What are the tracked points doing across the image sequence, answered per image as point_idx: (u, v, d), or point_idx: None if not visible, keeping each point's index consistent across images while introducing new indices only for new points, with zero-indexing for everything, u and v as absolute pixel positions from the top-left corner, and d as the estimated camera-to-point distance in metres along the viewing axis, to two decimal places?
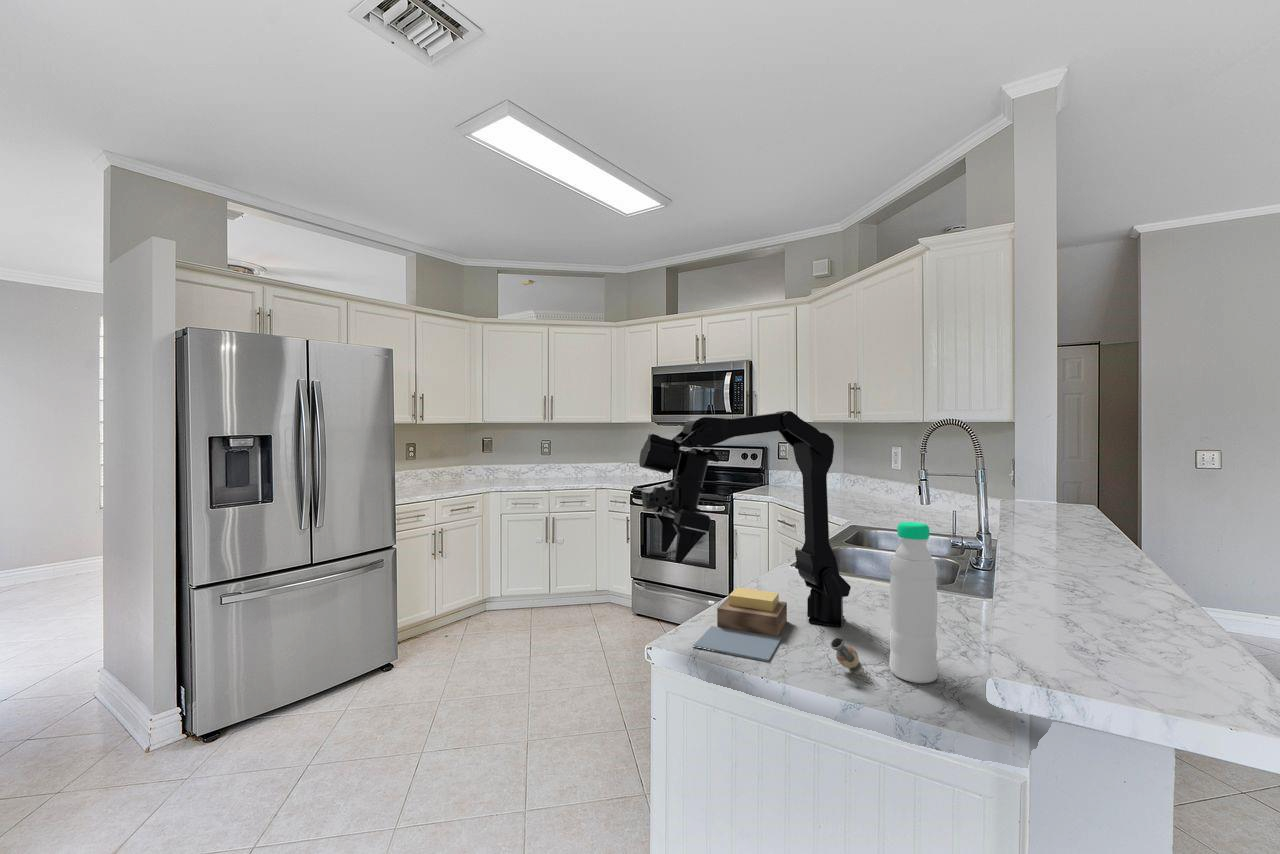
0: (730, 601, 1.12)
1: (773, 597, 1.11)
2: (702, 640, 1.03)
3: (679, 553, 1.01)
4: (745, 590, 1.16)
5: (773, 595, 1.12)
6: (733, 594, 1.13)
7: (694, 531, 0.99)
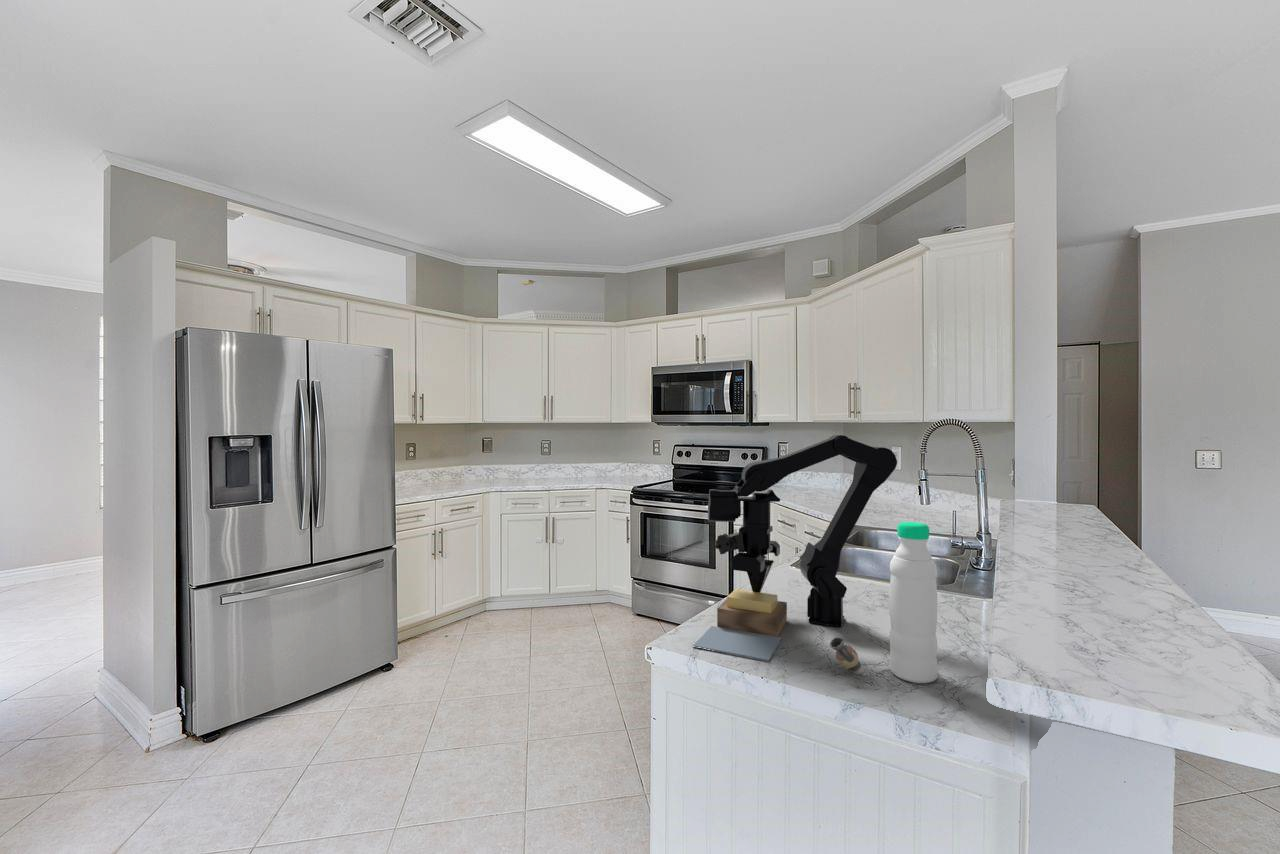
0: (728, 603, 1.11)
1: (772, 599, 1.10)
2: (702, 640, 1.03)
3: (753, 587, 1.15)
4: (744, 592, 1.14)
5: (772, 597, 1.11)
6: (732, 596, 1.11)
7: None
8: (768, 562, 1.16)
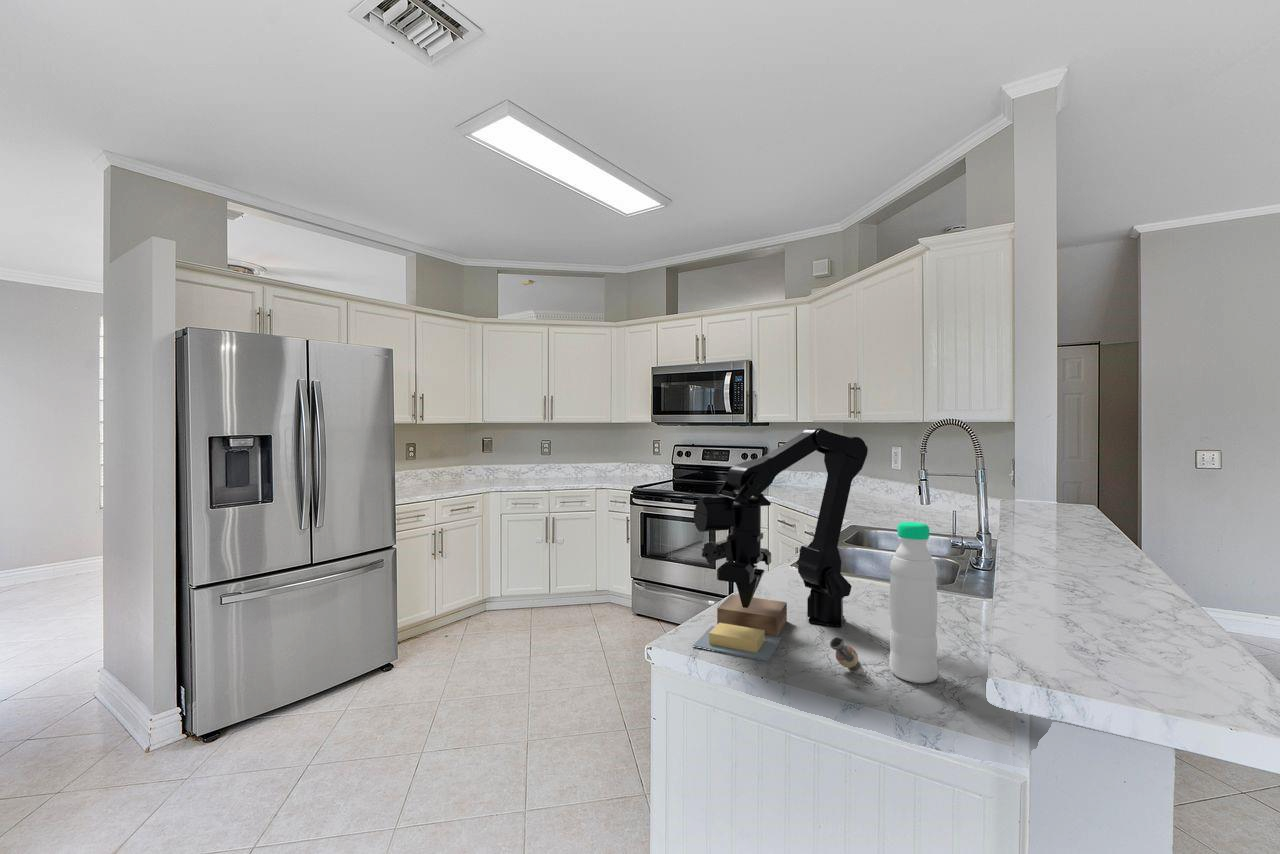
0: None
1: None
2: (702, 640, 1.03)
3: (742, 599, 1.07)
4: None
5: None
6: None
7: None
8: (758, 571, 1.08)
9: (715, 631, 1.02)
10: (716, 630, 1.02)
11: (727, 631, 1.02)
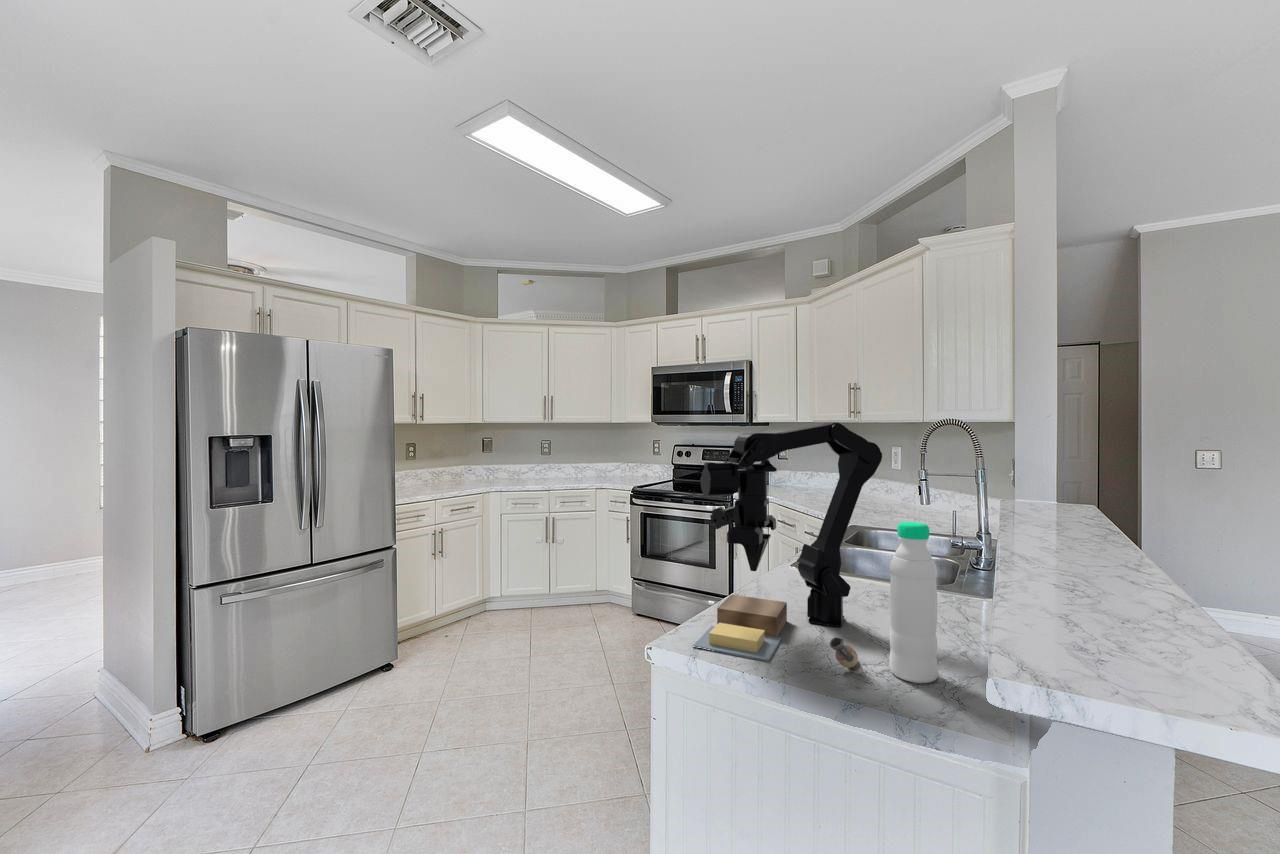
0: None
1: None
2: (702, 640, 1.03)
3: (750, 562, 1.10)
4: None
5: None
6: None
7: None
8: (765, 536, 1.11)
9: (715, 631, 1.02)
10: (716, 630, 1.02)
11: (727, 631, 1.02)
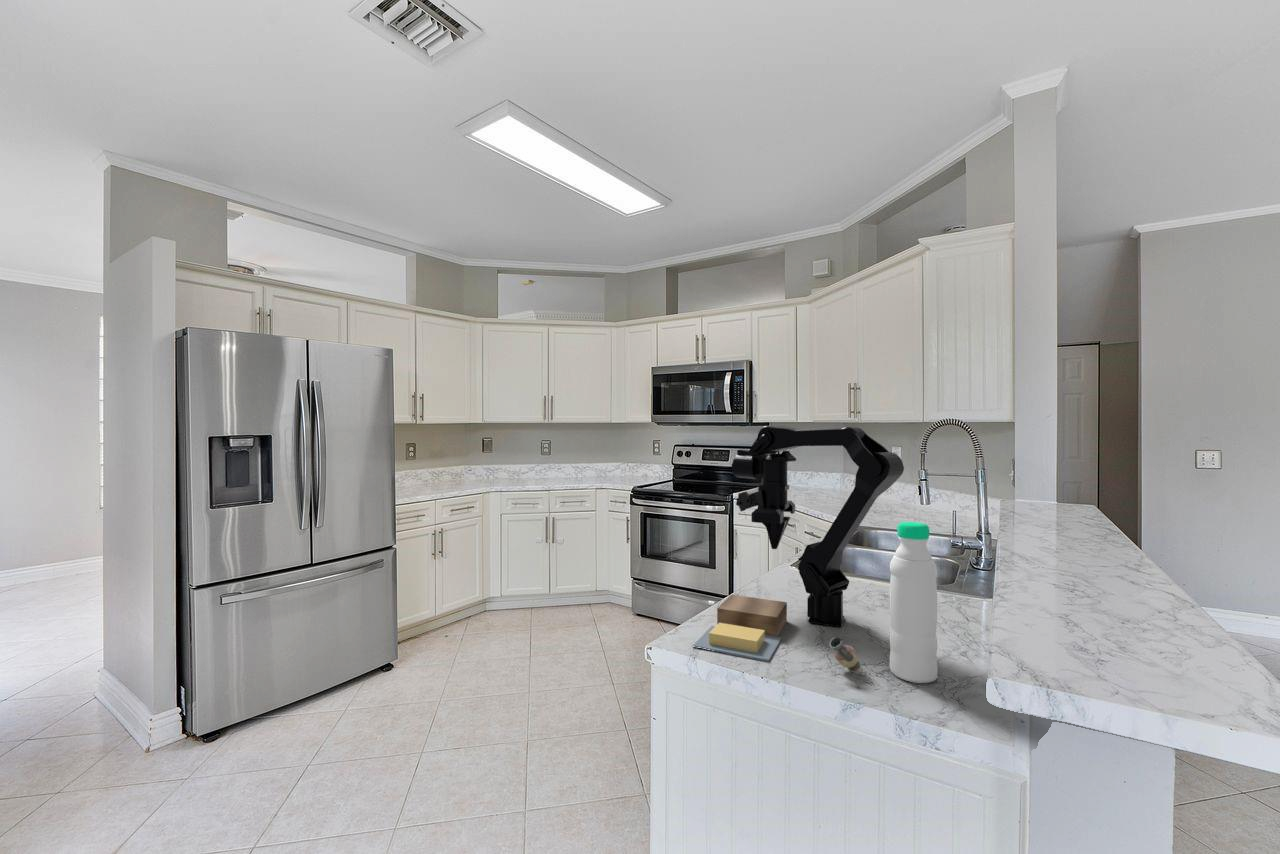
0: None
1: None
2: (702, 640, 1.03)
3: (772, 541, 1.23)
4: None
5: None
6: None
7: None
8: (785, 518, 1.24)
9: (715, 631, 1.02)
10: (716, 630, 1.02)
11: (727, 631, 1.02)
